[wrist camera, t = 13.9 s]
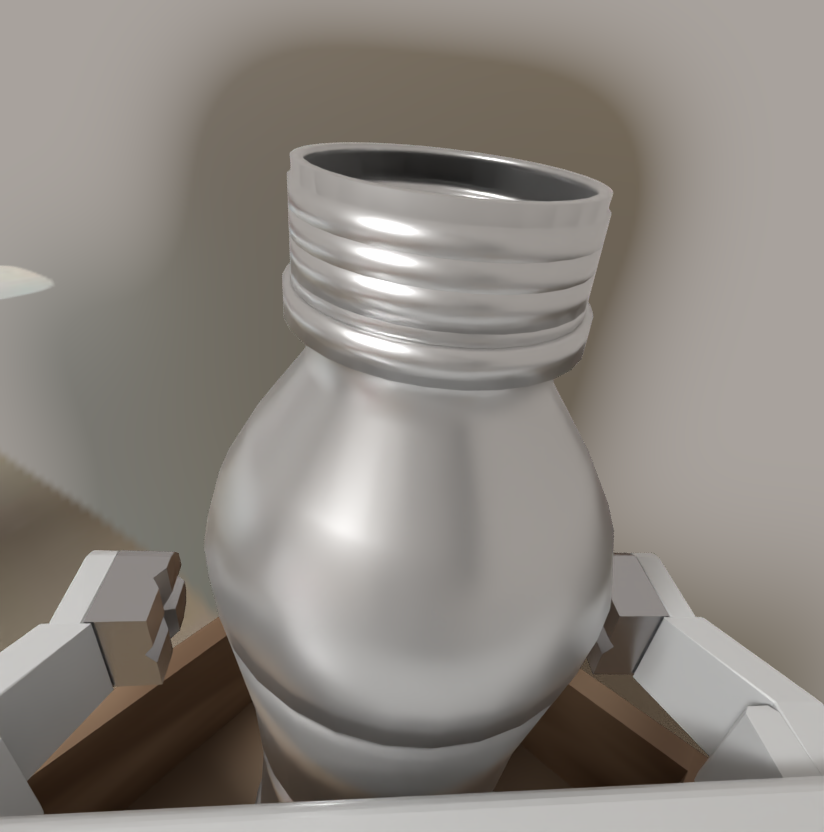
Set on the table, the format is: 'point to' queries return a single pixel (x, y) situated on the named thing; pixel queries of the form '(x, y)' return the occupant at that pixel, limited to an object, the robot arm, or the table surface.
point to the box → (243, 752)
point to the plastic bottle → (416, 475)
